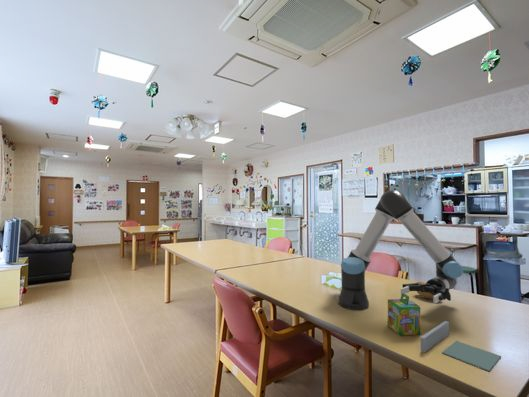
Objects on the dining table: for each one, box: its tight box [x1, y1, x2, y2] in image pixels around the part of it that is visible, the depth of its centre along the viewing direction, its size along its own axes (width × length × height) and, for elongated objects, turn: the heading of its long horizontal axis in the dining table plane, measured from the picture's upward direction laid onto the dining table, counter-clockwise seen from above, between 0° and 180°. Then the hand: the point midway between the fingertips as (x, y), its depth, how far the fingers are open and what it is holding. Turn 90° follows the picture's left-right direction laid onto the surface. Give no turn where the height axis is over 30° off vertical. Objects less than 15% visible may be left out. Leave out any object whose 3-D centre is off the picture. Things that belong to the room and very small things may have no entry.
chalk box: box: [387, 293, 422, 337], centre depth 111 cm, size 9×9×15 cm
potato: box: [416, 281, 435, 300], centre depth 147 cm, size 10×14×8 cm
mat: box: [441, 340, 502, 372], centre depth 92 cm, size 13×13×1 cm
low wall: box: [420, 320, 450, 354], centre depth 101 cm, size 1×22×5 cm, turn 126°
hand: (417, 295), depth 117 cm, fingers open, 13 cm apart
